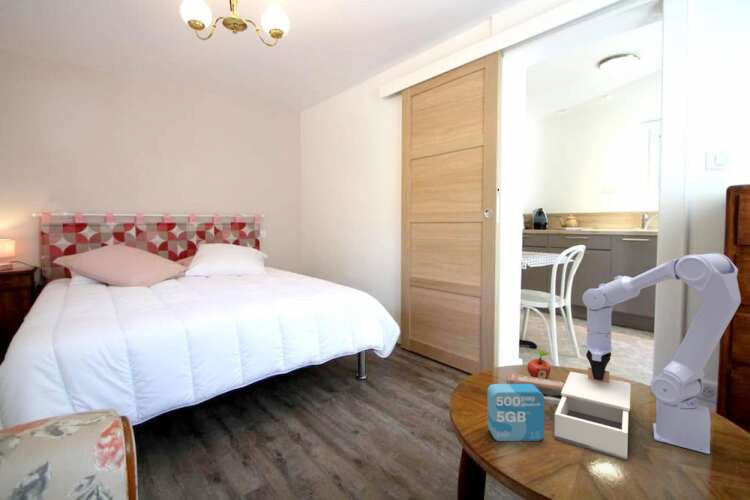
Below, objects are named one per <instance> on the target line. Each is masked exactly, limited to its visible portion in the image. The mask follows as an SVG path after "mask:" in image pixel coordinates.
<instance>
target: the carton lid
mask: <svg viewBox="0 0 750 500" xmlns="http://www.w3.org/2000/svg"><path fill="white" fill-rule="evenodd" d="M564 383H565V385H564V387H563V389H562V392H561V395H563V396H567V397H572V398H576V399H580V400H584V401H589V402H593V403H597V404H602V405H606V406H610V407H615V408H619V409H623V410H627V411H628V412H630V411H631V387H632V386H631V383H630V382H626V381H621V380H618V379H617V380H615V379H610V371H607V370H605V373H604V378H603V380H597V379H594V378H593V374H592V369H591V367H587V374H585V373H579V372H573V371H570V372H569V373H568V376H567V378H566V380H565V382H564Z"/></svg>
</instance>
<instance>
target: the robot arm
mask: <svg viewBox="0 0 750 500" xmlns="http://www.w3.org/2000/svg"><path fill="white" fill-rule="evenodd" d="M738 271H739V269H738V268H737V267H736V265H735V264H734V263H733V262H732V260H731V259H730V258H729V257H728V256H727V255H725V254H722V253H719V252H707V253H702V254H687V255H683V256H682V257H680V258H675V259H671V260H668V261H666V262H663V263H662V264H659V265H657V266H656V267H652V268H651V269H649V270H646V271H645V272H642V273H640V274H639V275H636V276H634V277H631V276H628V275H623V276H622V275H617V276H615V277H613V279H614V280H612V281H610V282H608V283H600V284H599V285H598V288H588V289H587V290H586V291H584V293H583V294H582V302H583V304H584V306H585V307H586V342H583V343H582V344H581V347H582V348H585V349H586V350H587V352H586V359H587V360H588V362H589V365H590V368H591V369H592V374H593V378H594V379H597V380H603V378H604V373H605V371H606V368H607V365H608V364H609V362H610V361H611V357H612V351H613V347H612V313H613V308H614V306H616V305H617V304H620V303H623V302H625V301H628V300H631V299H633V298H636V297H638V296H639V295H640V292H641V290H642V289H644V288H645V289H646V288H648V287H651V286H653V285H656V284H659V283H660V284H661V283H662V282H665V281H668V280H674V281H677V280H681V281H682V282H683V283H685V284H686V285H687V286H688V287H690V288H691V289H692V290H693V291H695V292H696V294H698V296H699V297H700V299H701V300H702V303H701V305H700V307H699V308H698V311H697V313H696V314H695V317H694V318H693V320H692V323H691V325H690V326H689V328H688V330H687V332H686V334H685V336H684V337H683V339H682V341H681V343H680V345H679V348H678V349H677V350H676V353H675V354H674V357H673V359H672V360H671V361H670V362H669V363H668V364H667V365H666V366H665V367H664V368H663V369H662V371H661V373H660V374H658V375H655V376H654V377H653V378H652V379H651V380H650V383H649V386H650V389H651V392H652V394H653V395H654V397H655V398H656V405H655V406H656V408H655V409H656V411H655V416H656V417H655V422H654V423H653V422H652V426H653V437H654V440H656V441H658V442H662V443H666V444H668V445H673V446H677V447H681V448H685V449H687V450H692V451H695V452H700V453H704V454H706V455H710V454H711V438H712V437H711V414H710V413H711V412H710V408H709V407H707V406H705V405H700V404H698V401H697V397H698V396H700V395H701V394H702V393H703V390H704V384H703V382H704V378H705V376H706V373H705V372H704V369H705V367H706V365H707V363H708V361H709V360H710V358H711V356H712V354H713V353H714V350H715V349H716V347H717V346H718V343H719V342H720V340H721V339H722V336H723V335H724V334H725V331H726V329H727V327H729V324H730V322H731V320H732V319H733V317H734V315H735V314H736V312H737V310H738V308H739V306H740V305H741V302H742V298H741V292H740V287H739V283H738V282H739V281H738V277H737V276H738V274H739V272H738Z"/></svg>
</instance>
